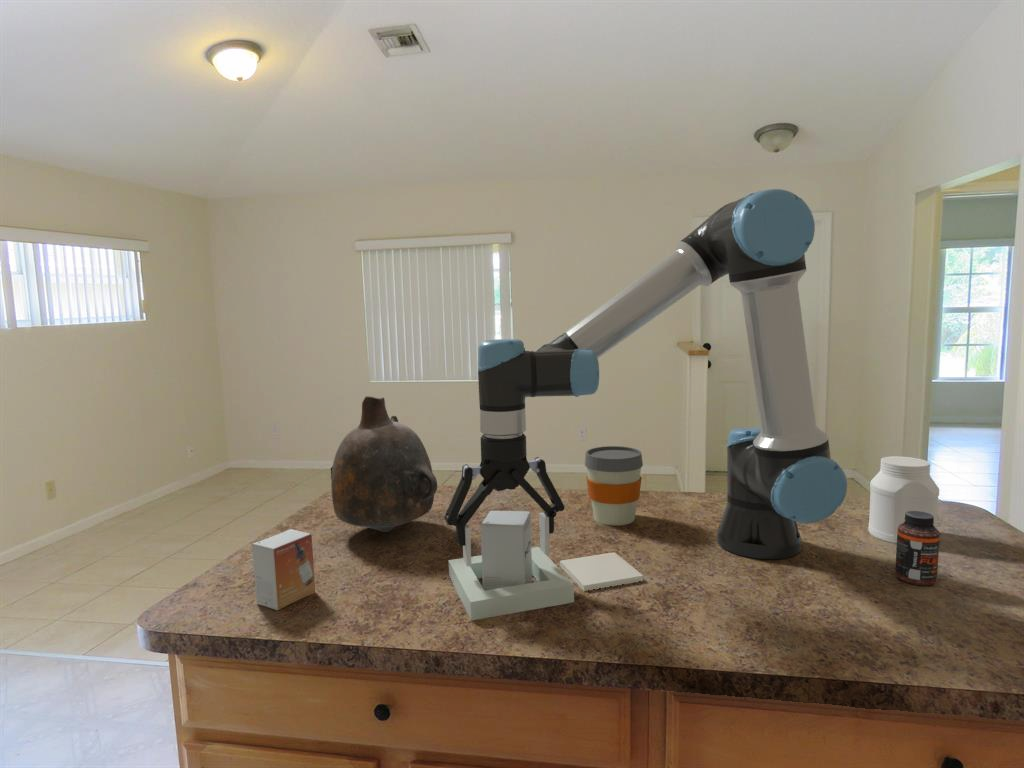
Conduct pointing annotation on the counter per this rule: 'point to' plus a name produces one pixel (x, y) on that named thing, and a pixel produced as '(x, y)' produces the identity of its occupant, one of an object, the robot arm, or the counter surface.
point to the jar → (900, 495)
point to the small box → (283, 569)
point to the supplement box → (506, 549)
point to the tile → (600, 571)
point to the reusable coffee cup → (614, 483)
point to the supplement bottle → (917, 549)
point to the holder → (510, 588)
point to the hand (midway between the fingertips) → (506, 557)
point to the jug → (381, 472)
